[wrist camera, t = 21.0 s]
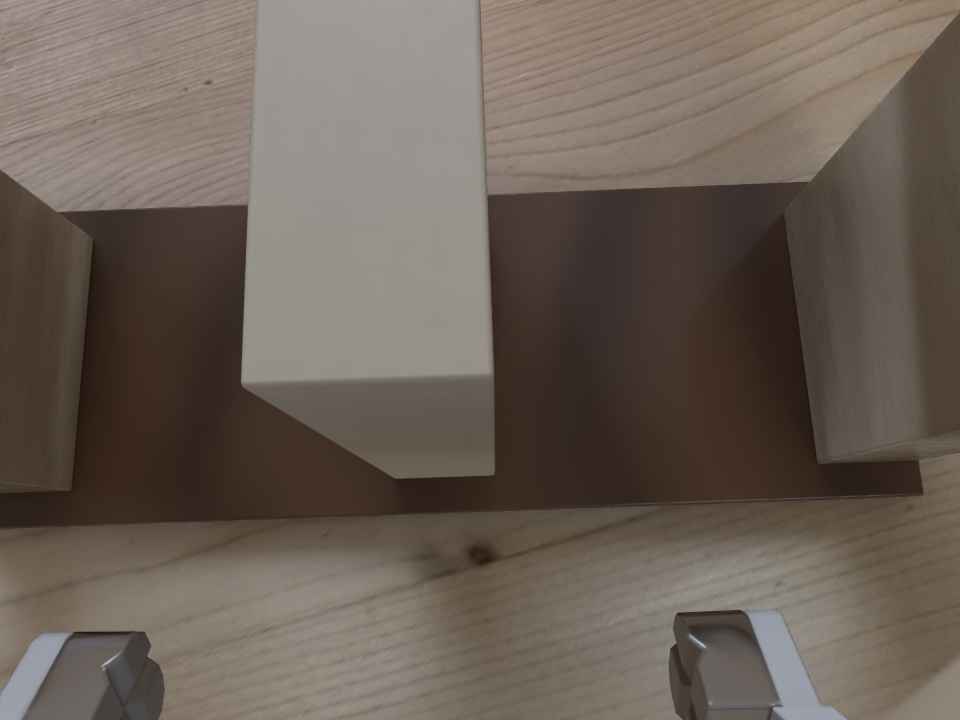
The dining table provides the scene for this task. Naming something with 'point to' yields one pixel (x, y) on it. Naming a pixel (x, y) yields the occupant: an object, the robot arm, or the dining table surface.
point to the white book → (372, 231)
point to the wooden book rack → (522, 346)
